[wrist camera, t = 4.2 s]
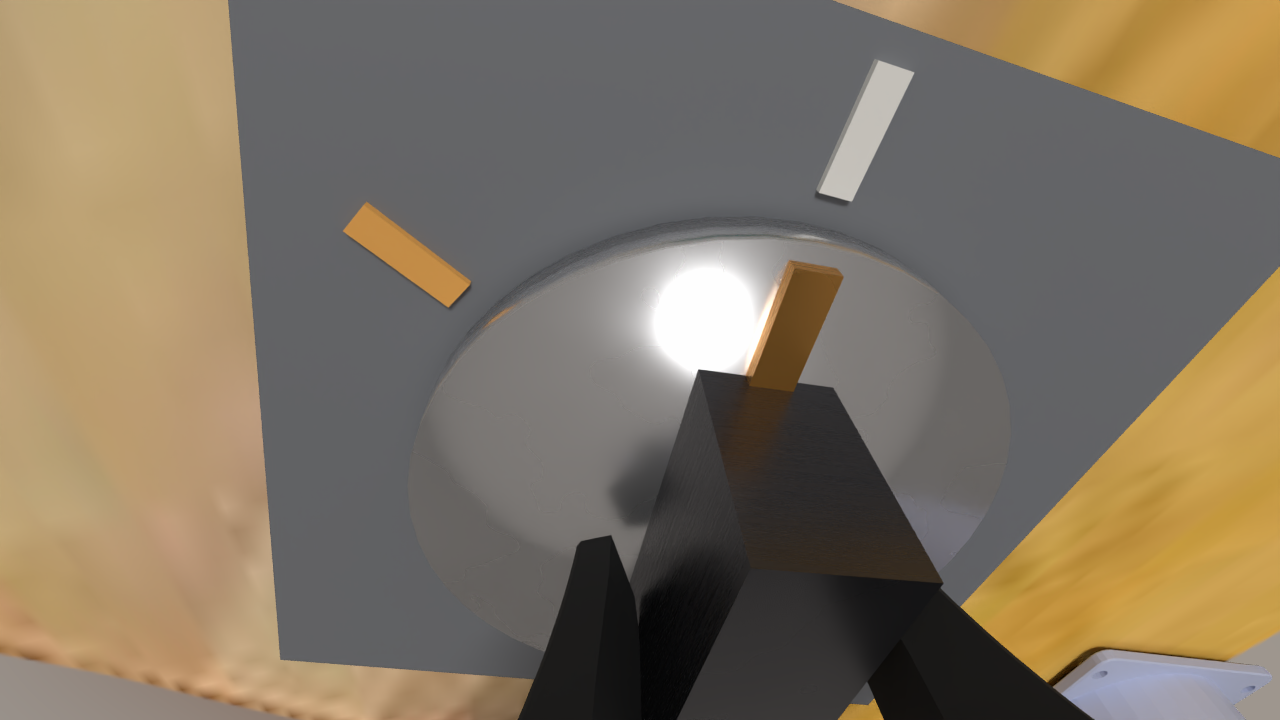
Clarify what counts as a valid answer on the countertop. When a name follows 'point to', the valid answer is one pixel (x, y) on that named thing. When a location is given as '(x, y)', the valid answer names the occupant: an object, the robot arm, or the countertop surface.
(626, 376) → the dial
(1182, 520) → the countertop surface
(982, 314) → the dial panel
